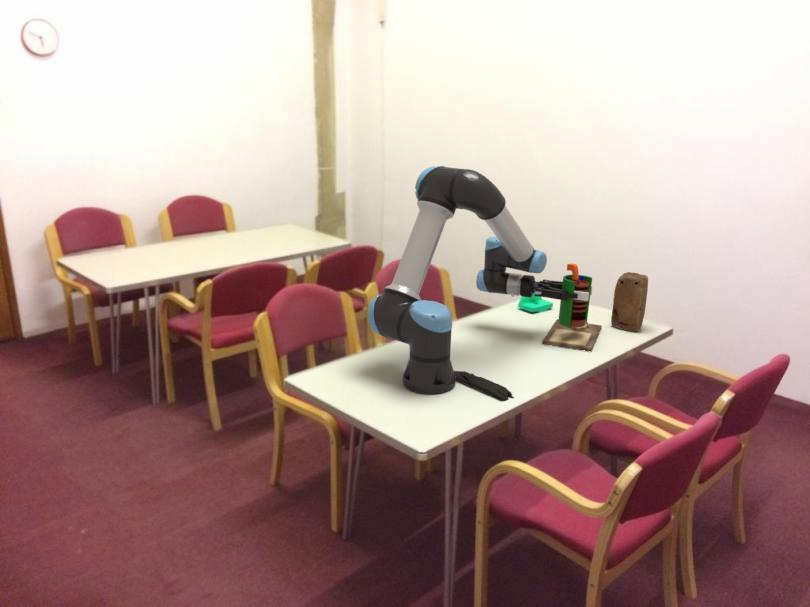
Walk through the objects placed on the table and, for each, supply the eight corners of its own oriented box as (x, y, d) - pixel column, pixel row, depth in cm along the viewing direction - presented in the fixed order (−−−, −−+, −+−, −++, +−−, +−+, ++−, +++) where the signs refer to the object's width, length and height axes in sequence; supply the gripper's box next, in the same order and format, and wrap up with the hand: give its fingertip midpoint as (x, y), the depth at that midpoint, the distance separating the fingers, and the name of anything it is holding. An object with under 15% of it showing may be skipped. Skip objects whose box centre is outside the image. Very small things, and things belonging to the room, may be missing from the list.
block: (644, 328, 242) (651, 274, 236) (637, 334, 237) (644, 279, 231) (615, 322, 249) (621, 269, 243) (607, 327, 243) (613, 273, 237)
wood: (520, 396, 188) (521, 386, 187) (503, 403, 183) (504, 393, 182) (463, 372, 203) (463, 362, 203) (445, 378, 199) (446, 368, 198)
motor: (578, 329, 221) (584, 270, 215) (553, 323, 226) (558, 266, 220) (590, 322, 229) (596, 264, 223) (565, 316, 234) (571, 260, 228)
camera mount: (532, 315, 256) (534, 289, 253) (517, 309, 262) (519, 284, 259) (553, 309, 263) (555, 284, 260) (538, 304, 269) (540, 279, 266)
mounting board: (542, 344, 226) (542, 335, 225) (556, 322, 248) (557, 313, 247) (591, 351, 220) (591, 342, 219) (601, 328, 242) (602, 320, 241)
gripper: (527, 288, 241) (593, 296, 232) (513, 303, 223) (584, 313, 215) (529, 268, 238) (595, 275, 230) (515, 282, 221) (586, 290, 212)
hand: (590, 293), depth 222 cm, fingers closed on motor, 7 cm apart
